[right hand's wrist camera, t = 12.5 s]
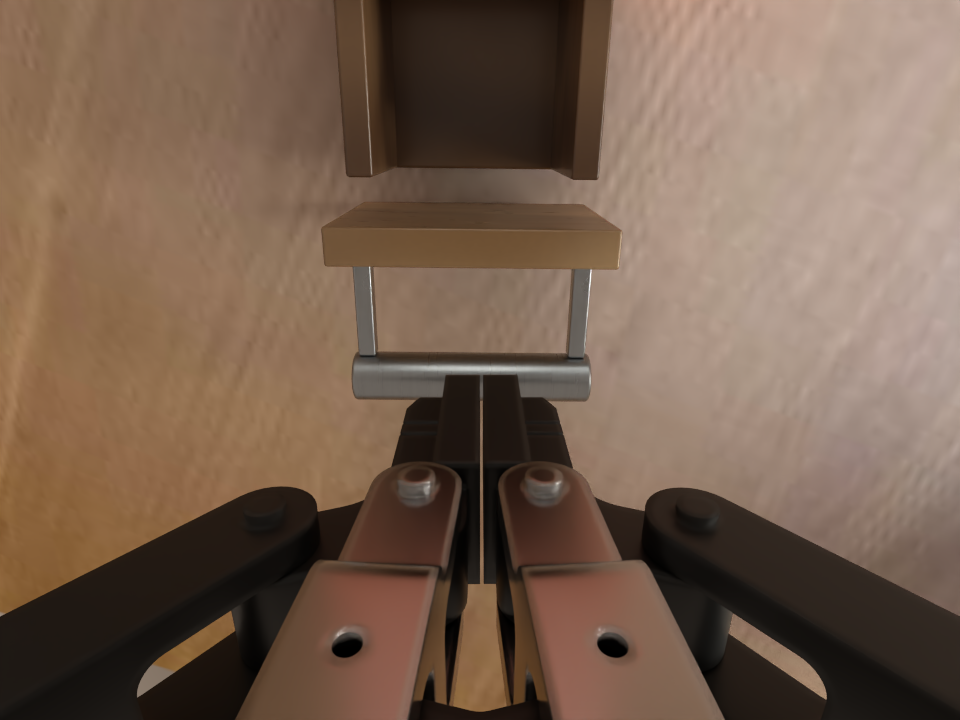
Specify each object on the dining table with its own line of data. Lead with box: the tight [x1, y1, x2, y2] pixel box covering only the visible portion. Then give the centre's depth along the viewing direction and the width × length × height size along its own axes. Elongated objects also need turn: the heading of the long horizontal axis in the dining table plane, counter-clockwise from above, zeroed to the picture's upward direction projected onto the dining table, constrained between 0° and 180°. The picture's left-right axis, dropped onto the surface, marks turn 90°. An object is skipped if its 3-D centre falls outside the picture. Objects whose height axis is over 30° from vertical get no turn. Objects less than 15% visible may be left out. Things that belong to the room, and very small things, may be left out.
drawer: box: [321, 0, 622, 402], centre depth 19 cm, size 20×9×7 cm, turn 179°
